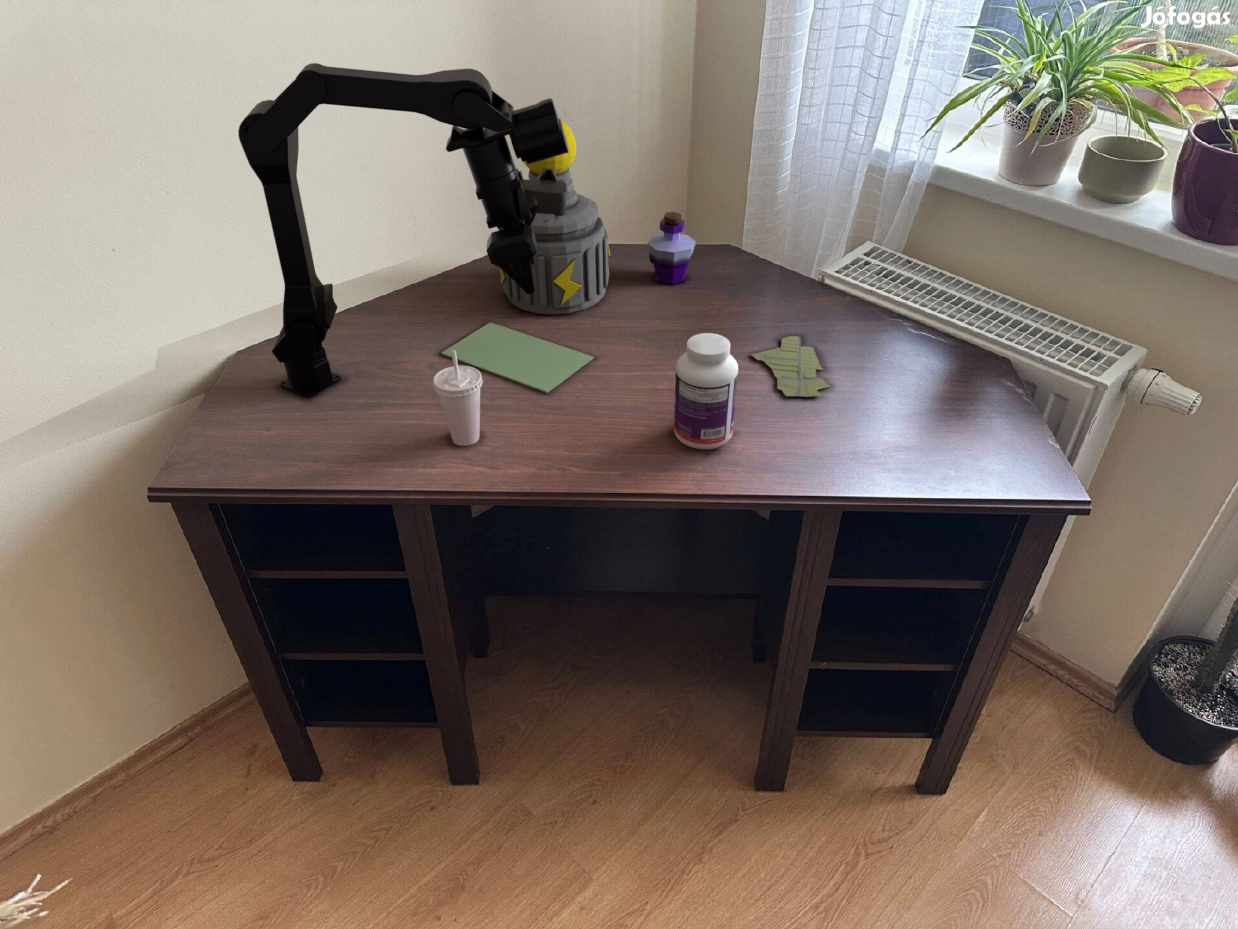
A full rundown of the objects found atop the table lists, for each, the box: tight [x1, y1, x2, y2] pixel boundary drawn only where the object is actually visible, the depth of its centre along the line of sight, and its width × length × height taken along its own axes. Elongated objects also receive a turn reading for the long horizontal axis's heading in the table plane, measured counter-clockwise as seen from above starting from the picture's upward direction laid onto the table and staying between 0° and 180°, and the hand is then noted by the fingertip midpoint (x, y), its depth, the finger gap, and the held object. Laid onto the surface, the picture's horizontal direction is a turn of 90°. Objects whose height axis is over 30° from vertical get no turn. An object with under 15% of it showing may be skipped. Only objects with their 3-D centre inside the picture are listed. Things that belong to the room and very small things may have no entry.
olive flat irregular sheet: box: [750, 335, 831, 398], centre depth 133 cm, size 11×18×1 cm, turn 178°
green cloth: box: [440, 322, 595, 394], centre depth 136 cm, size 21×12×1 cm, turn 56°
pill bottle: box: [673, 332, 739, 450], centre depth 115 cm, size 8×8×14 cm
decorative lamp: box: [499, 120, 611, 316], centre depth 145 cm, size 19×19×30 cm
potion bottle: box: [647, 211, 697, 286], centre depth 155 cm, size 9×9×12 cm
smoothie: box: [432, 350, 484, 447], centre depth 115 cm, size 6×6×14 cm
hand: (530, 278), depth 124 cm, fingers open, 9 cm apart
